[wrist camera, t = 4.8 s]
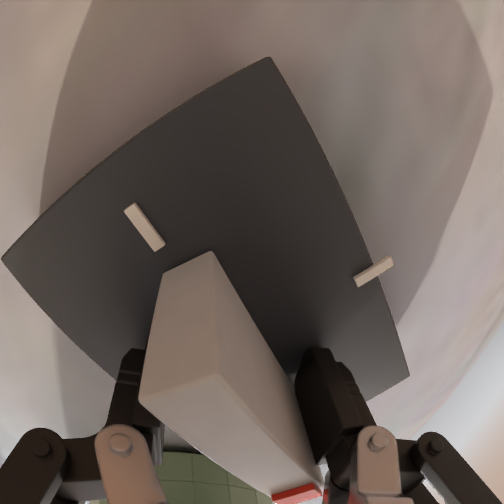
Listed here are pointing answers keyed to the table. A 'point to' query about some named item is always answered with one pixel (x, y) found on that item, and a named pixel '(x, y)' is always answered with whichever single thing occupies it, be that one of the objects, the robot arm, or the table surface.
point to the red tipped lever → (225, 384)
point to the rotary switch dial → (216, 235)
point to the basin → (201, 482)
